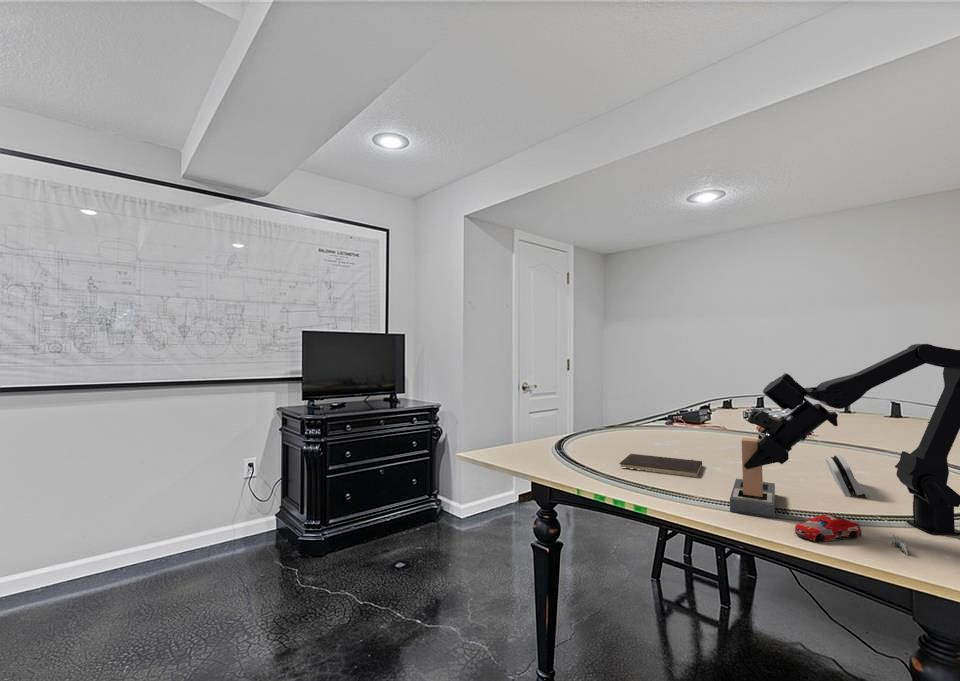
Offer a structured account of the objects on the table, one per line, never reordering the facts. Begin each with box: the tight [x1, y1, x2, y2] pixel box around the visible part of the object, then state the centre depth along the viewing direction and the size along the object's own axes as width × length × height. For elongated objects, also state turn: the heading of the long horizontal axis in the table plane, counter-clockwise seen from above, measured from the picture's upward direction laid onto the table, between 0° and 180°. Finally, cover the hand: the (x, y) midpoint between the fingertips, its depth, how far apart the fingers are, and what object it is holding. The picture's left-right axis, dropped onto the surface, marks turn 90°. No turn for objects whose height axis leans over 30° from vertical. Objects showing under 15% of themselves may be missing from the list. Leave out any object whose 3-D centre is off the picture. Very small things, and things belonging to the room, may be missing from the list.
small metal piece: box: [890, 534, 911, 556], centre depth 89 cm, size 6×2×3 cm, turn 160°
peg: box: [741, 437, 764, 497], centre depth 113 cm, size 4×4×13 cm
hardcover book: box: [619, 453, 703, 478], centre depth 152 cm, size 16×23×2 cm
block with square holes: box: [729, 478, 776, 519], centre depth 117 cm, size 20×9×3 cm, turn 147°
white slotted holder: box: [824, 454, 871, 500], centre depth 128 cm, size 17×5×10 cm, turn 151°
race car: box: [794, 514, 862, 543], centre depth 96 cm, size 13×5×4 cm, turn 98°
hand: (745, 465), depth 114 cm, fingers closed on peg, 4 cm apart
